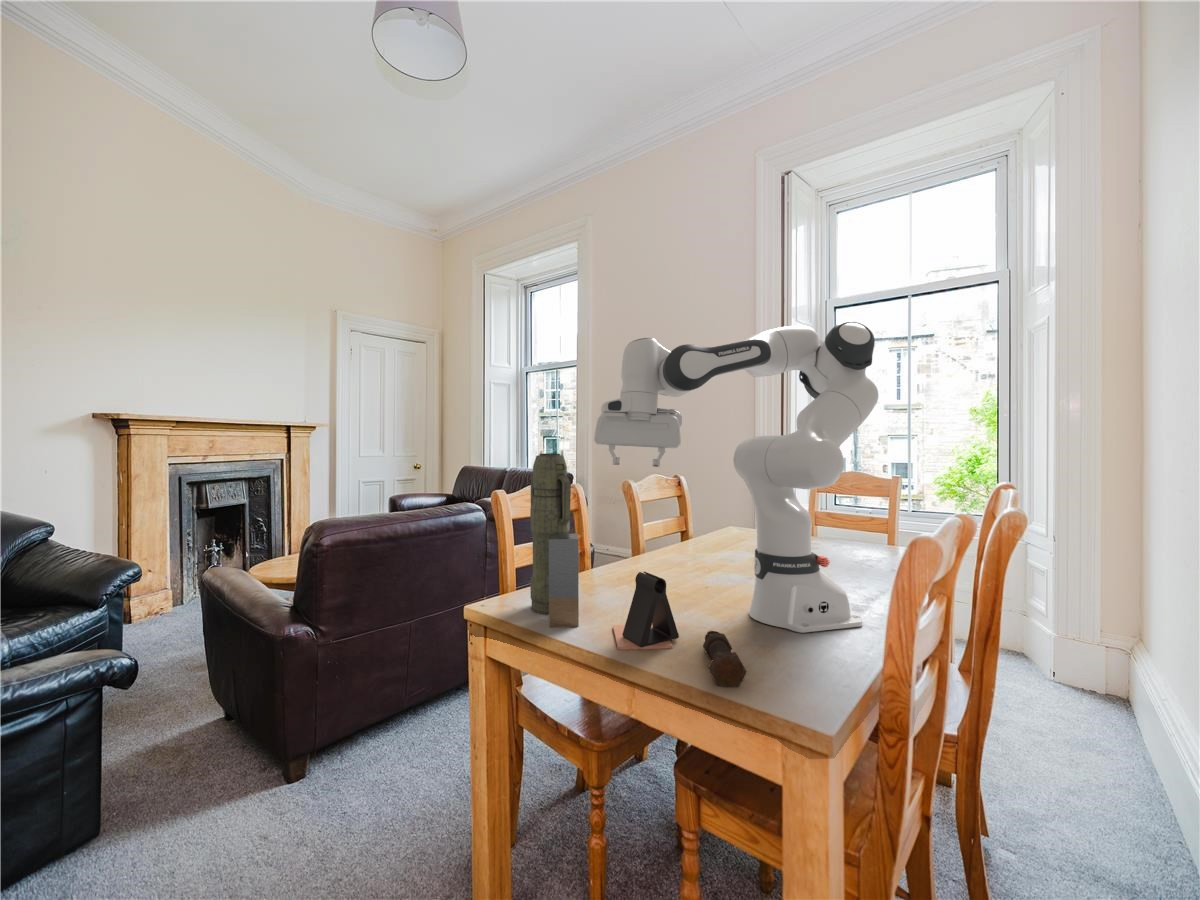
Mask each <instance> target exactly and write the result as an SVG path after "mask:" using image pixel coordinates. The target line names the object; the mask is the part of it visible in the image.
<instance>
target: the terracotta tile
mask: <svg viewBox="0 0 1200 900" xmlns="http://www.w3.org/2000/svg"><path fill="white" fill-rule="evenodd" d="M624 627H625V624H614V625H612V628H613V634H614V638H615V642H616V647H617V650H622V651H625V650H654V649H655V650H659V649H660V650H663V649H673V644H672V642H671V640H670V641H666V642H662V643H660V642H659V643H658V644H653V645H649V646H645V647H639V646H638V645H636V644H635V643H633V642H631V641H630V640H628V639H626V638H625V637H623V636H622V634H623V631H624ZM652 627H653V625H652V626H651V628H652Z"/></svg>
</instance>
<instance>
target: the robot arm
mask: <svg viewBox="0 0 1200 900" xmlns="http://www.w3.org/2000/svg"><path fill="white" fill-rule="evenodd" d="M874 349H875V336H874V334H873V332H872V330H871V329H869V328H868V327H867V326H866V325H864V324H862V323H860V322H857V321H849V320H845V321H841V322H839V323H837V324H835V326H833V327H831V329H830V330H829V332H828V333H827V334H826V336H825V338H824V340H823V341H822V340H821V339H820V337H819V334H818V333H817V331H816V330H815V329H814V328H812V327H810V326H807V325H790V326H781V327H777V328H771V329H768V330H764V331H761V332H757V333H755V334H752V335H749V336H748V337H745V338H744V339H743V340H740V341H737V342H732V343H728V344H721V345H717V346H711V347H710V346H709V347H708V346H701V345H698V344H697V345H695V344H691V343H690V344H687V343H686V344H681V345H679V346H677V347H675V348H673V349H672V350H671V351H670V350H668V349H667V348H665V347H664V346H663V345H661V344H660V343H659V342H658V341H657V339H655V338H651V337H643V338H637V339H635V340H632V341H631V342H628V344H627V345H626V346H625V347H624V351H623V355H622V360H621V361H622V362H621V373H620V374H621V375H620V376H621V380H622V381H621V382H622V387H621V389H620V397H619V398H616V399H612V400H609V401H605V402H603V403H602V405H601V406H600V412H601V414H600V415H599V417H598V418H597V421H596V426H595V429H594V430H595V431H594V437H593V441H594V443H595V444H596V445H600V446H601V445H602V446H604V445H605V446H608V452H609V453H610V455H611V457H612V465H614V466H619V465H620V460H621V459H620V457H619V456H616V454H615V452H614V451H615V450H616V446H621V447H622V446H623V447H641V448H657V453H658V455H657V457H656V458H653V459H652V463H651V464H652V467H653V468H660V465H661V459H662V458H663V456H664V455H665V453H666V449H677V448H679V447H680V446H681V442H682V438H681V426H682V423H683V422H682V421H683V420H682V419H683V417H682V414H681V412H679V411H677V409H673V408H669V409H668V408H659V407H658V403H659V402H658V399H659V398H658V397H659V395H662V396H665V397H670V398H678V397H682V396H684V395H686V394H687V393H689V392H691V391H695V390H697V389H699V388H700V387H701V388H702V386H703V385H705V384H706V383H707V382H709V380H711V379H712V378H714V377H715V376H719V375H725V374H729V373H733V372H737V371H742V370H744V371H745V372H746V373H747V374H748V375H750V376H752V377H755V378H760V377H771V376H775V375H779V374H783V373H787V372H791V371H799V373H798V379H799V382H801V384H803V386H804V389H805V391H806V392H807V393H808V394H809V396H811V398H813V400H812V401H811V402H809V403H808V404H807V405H806V406H805V407H804V408H803V409H802V410H801V411H800V412H799V413H798V415H797V416H796V431H793V432H792V433H789V434H784V435H758V436H755V437H751V438H747V439H744V440H742V441H741V442H740V443H739V444H738V445H737V446H736V449H735V450H734V453H733V466H734V470H735V472H736V473H737V474H738V476H739V477H740V478H741V479H742V480H743V481H744V483H745V485H746V487H747V489H748V491H749V493H750V497H751V499H752V503H753V506H754V511H755V518H756V520H755V521H756V548H755V549H754V559H753V570H754V575H755V580H754V581H755V582H754V589H753V594H752V598H751V599H752V600H751V604H750V607H749V610H748V616H749V617H751V618H752V619H753V620H754V621H758V622H760V623H761V624H766V625H769V626H774V627H778V628H783V629H787V630H790V631H792V632H795V633H810V632H821V631H831V630H841V629H849V628H850V629H851V628H858V627H862V625H863V619H862V618H861V616H860V615H859V614H858V613H857V612H855V611H854V610H852V609H851V605H850V602H849V597H848V595H847V592H846V591H845V589H843V588H842V587H841V585H839V584H838V583H836V582H835V581H834V580H833V579H831V578H830V577H829V576H828V575H826V574H825V573H824V572H823V571H821V570H820V569H821V568H820V566H821V567H823V568H827V567H828V566H829V565H830V564H831V563H830V560H829V559H828V557H825V556H823V555H820V556H819V555H818V554H815V553H814V552H813V551H812V532H813V531H812V524H813V522H812V516H811V515H810V513H809V512H808V509H805V508H804V506H802V505H801V503H800V502H799V500H798V498H797V496H796V493H795V490H794V489H799V490H815V489H824V488H829V487H831V486H833V485H835V483H836V482H837V481H839V479H840V477H841V475H842V473H843V470H844V465H845V464H844V462H845V461H844V455H843V452H842V450H841V448H840V447H841V446H842V444H843V443H844V442H845V441H846V440H847V439H848V438H849V437H851V435H852V434H853V433H854V432H855V431H856V430H857V429H858V428H859V427H860V426H861V425H862V424H863V423H864V422H865V420H867V418H868V417H869V415H870V414H871V413H872V411H873V410H874V408H875V407H876V405H877V403H878V400H879V390H878V388H877V385H876V384H875V383H874V382H873V381H872V380H871V379H870V378H868V376H867V375H866V370H867V368H868V367H870V366H871V365H872V364H873V356H874Z"/></svg>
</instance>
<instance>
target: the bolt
mask: <svg viewBox="0 0 1200 900" xmlns="http://www.w3.org/2000/svg"><path fill="white" fill-rule="evenodd" d="M702 648H703V650H704V652H705V653H706V655H707V657H708V659H709V660H711V662H710V664H709V665H708V667H707V669H708V671H709V674H710V675H711V677H712V678H713V681H714V682H715V684H716V685H717V687H721V688H738V687H739V686H740V685H741V684H742V682H743V681H744V679H745V677H746V674H747V672H748V671H747V668H745V666H744V663H743V662H742V660H741V659H740V657H739V655H738V653H737V652H735V651H734V652H732V651H733V647H732V645H731V643H730V642H729V640H728V638H727V637H726V634H724V633H721V632H719V631H714V630H709V631H707V632H706V634H705V636H704V642H703V643H702Z"/></svg>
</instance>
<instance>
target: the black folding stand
mask: <svg viewBox="0 0 1200 900" xmlns="http://www.w3.org/2000/svg"><path fill="white" fill-rule="evenodd" d="M632 596H633V597H632V599H631V603H630V606H629V607H630V608H629V611H628V614H627V618H626V621H625V623H624V625H625V627H624V631H623V634H622V636H623V637H625V638H626V639H628V640H630V641H631V642H633V643H635V644H636V645H638V646H639V647H645V646H649V645H653V644H658V643H659V642H660V643H662V642H666V641H670V642H671V641H673V640H677V639H679V637H680V634H679V632H678V628H677V624H676V622H675V618H674V616H673V612H672V609H671V606H670V602H669V599H668V596H667V582H666V580H665V579H664V578H662V577H659V576H656V575H655V574H652V573H649V572H646V571H643V572H642V571H638V573H637V574H636V576H635V589H634V593H633V595H632ZM652 625H653V627H652V628H651V626H652Z"/></svg>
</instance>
